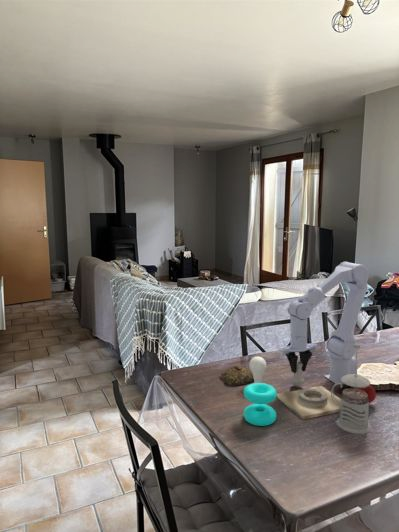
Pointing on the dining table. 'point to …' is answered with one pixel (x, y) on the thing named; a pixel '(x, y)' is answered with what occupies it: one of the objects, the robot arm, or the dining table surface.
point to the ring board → (307, 409)
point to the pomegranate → (369, 393)
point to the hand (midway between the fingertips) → (298, 371)
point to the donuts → (260, 404)
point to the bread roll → (237, 376)
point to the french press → (353, 418)
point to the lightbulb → (257, 368)
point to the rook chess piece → (298, 375)
